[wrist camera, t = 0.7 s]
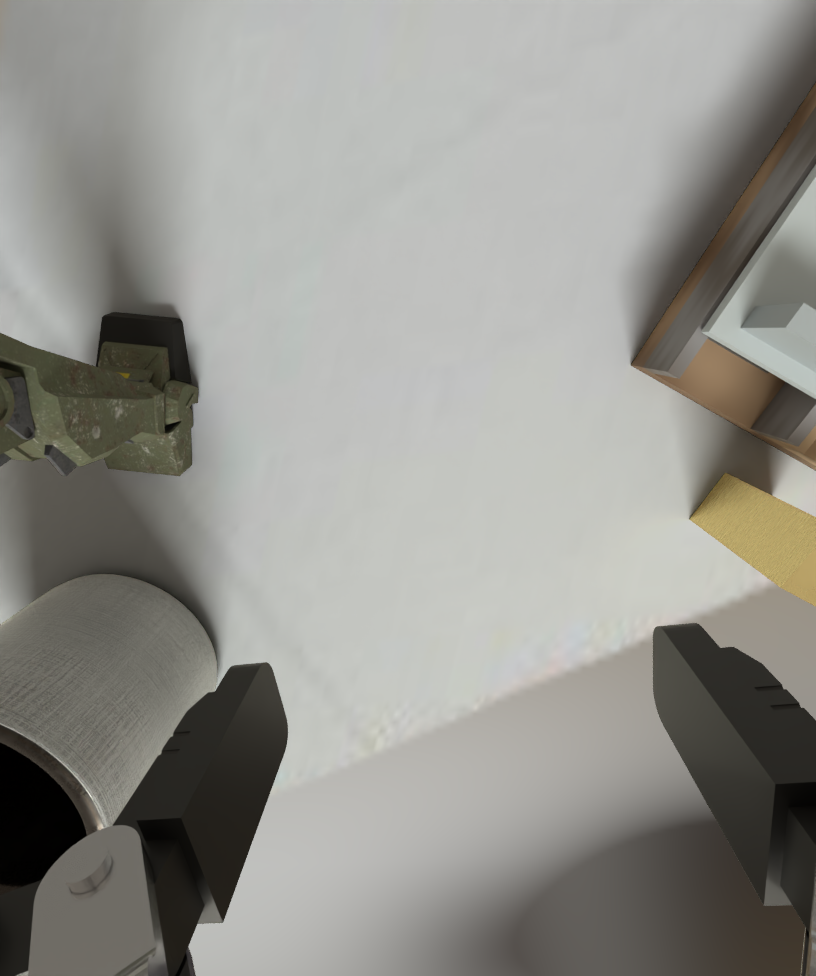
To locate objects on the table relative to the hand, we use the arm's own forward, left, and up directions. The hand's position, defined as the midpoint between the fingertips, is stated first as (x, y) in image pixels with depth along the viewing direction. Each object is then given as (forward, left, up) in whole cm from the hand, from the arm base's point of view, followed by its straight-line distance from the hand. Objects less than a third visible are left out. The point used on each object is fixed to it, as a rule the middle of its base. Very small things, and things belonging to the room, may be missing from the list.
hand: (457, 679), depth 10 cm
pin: (-5, +21, -26) cm, 33 cm away
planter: (+29, -14, -26) cm, 41 cm away
